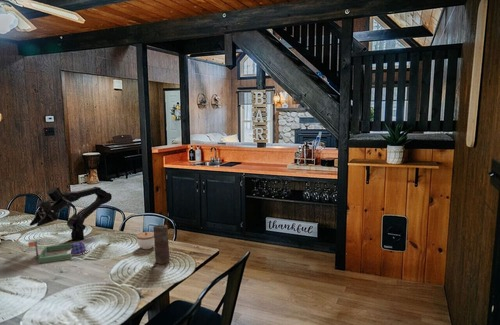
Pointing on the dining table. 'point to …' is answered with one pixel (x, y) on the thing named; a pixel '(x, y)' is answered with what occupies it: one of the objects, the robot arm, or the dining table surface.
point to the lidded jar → (145, 240)
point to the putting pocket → (50, 248)
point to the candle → (161, 244)
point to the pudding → (78, 248)
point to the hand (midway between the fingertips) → (33, 225)
